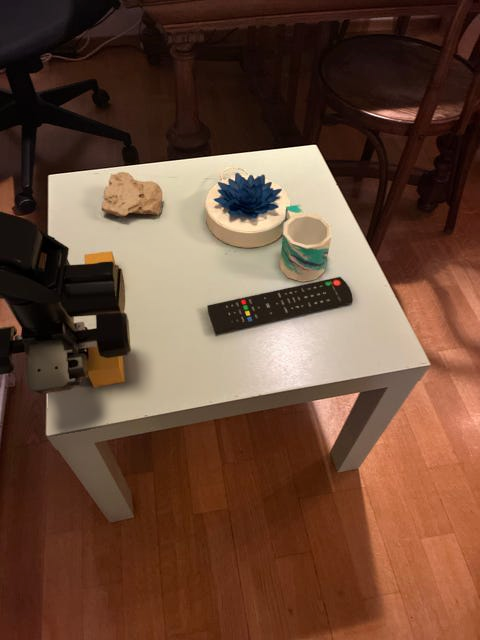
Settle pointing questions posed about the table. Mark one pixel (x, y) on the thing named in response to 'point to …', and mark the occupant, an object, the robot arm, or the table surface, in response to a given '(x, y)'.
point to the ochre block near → (104, 368)
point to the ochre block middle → (99, 257)
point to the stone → (131, 196)
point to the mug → (304, 244)
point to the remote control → (279, 304)
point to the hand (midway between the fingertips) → (73, 372)
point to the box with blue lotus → (246, 210)
